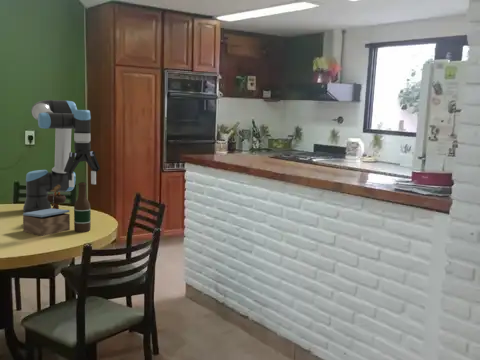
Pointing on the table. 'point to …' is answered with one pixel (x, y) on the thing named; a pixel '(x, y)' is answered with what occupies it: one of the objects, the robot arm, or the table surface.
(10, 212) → the table surface
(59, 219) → the box
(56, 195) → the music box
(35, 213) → the lid
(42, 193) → the robot arm
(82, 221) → the beer bottle
